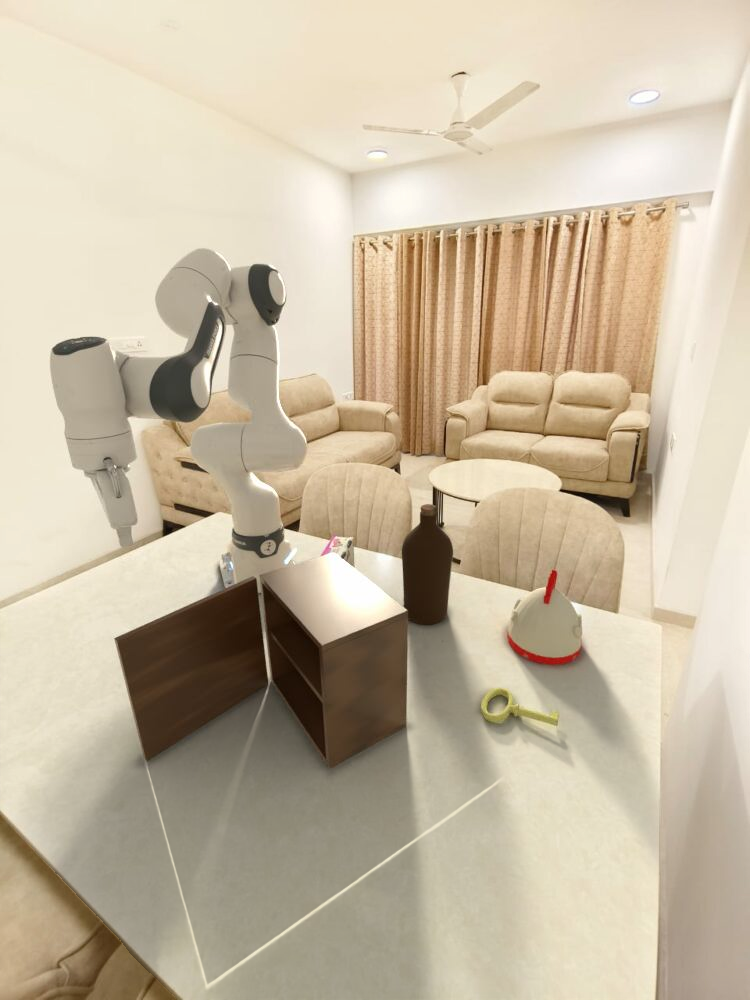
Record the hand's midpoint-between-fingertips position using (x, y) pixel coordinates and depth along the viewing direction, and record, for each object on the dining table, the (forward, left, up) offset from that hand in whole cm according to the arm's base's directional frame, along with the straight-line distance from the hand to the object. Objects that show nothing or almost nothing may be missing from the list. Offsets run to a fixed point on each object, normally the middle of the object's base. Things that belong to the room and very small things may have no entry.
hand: (121, 533), depth 80 cm
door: (+13, +5, -29) cm, 32 cm away
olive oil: (+12, +54, -29) cm, 63 cm away
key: (+43, +48, -29) cm, 71 cm away
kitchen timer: (+33, +67, -29) cm, 80 cm away
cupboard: (+24, +24, -29) cm, 45 cm away
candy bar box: (+2, +38, -29) cm, 48 cm away
